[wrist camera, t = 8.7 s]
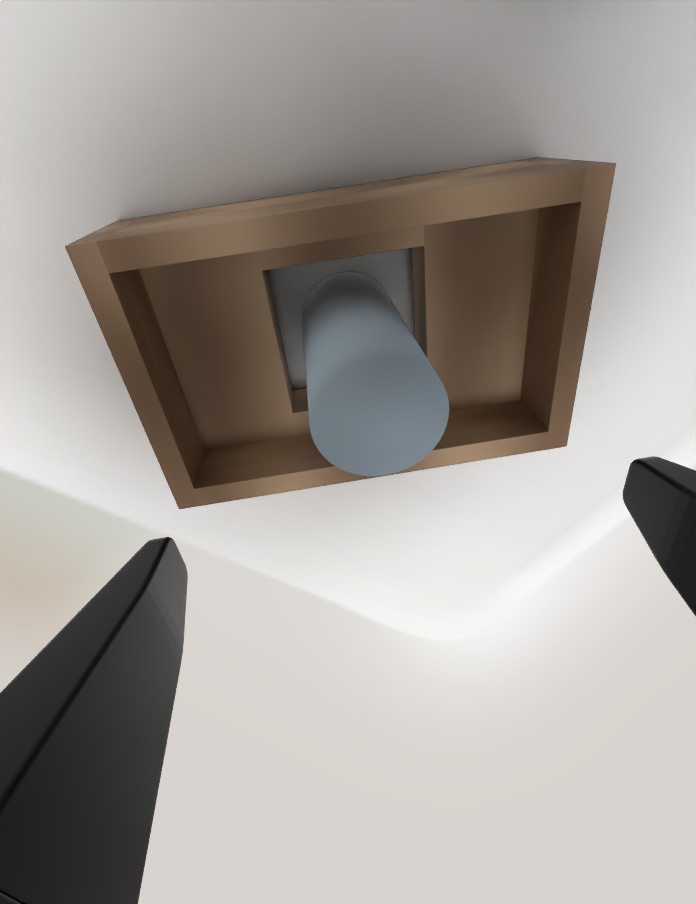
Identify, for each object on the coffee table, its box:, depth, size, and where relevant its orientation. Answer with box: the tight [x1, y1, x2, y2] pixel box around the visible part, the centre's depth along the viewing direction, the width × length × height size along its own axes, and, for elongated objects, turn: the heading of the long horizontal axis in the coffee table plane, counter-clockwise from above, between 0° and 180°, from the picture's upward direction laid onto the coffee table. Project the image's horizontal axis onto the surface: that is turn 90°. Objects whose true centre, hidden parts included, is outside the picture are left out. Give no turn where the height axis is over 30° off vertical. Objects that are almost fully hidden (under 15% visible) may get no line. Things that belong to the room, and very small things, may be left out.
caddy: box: [65, 157, 616, 509], centre depth 17 cm, size 15×9×4 cm, turn 97°
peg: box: [302, 272, 449, 476], centre depth 15 cm, size 4×4×8 cm
